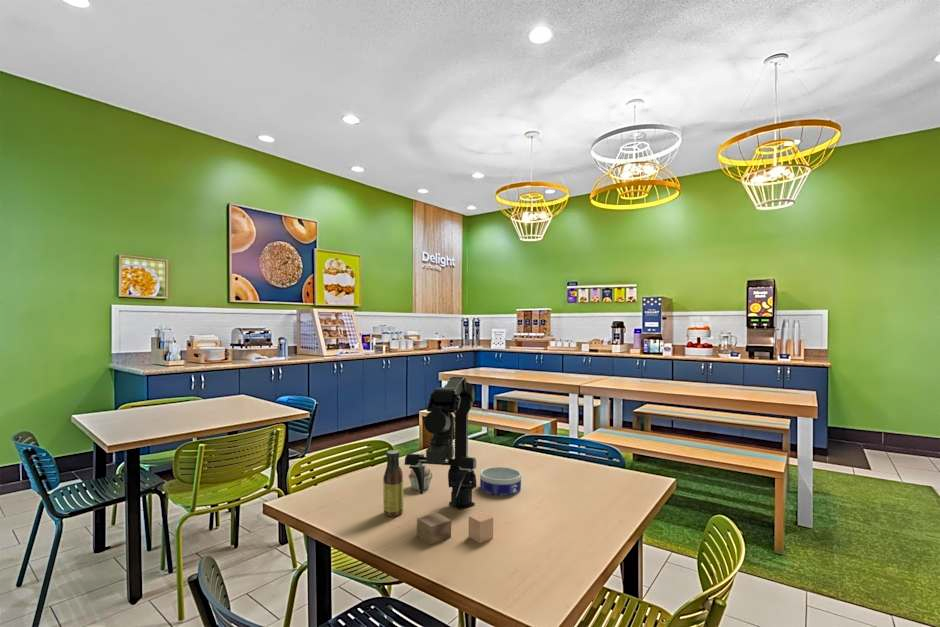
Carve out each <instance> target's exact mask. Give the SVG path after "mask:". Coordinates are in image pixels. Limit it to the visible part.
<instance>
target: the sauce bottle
mask: <svg viewBox="0 0 940 627" xmlns="http://www.w3.org/2000/svg"><path fill="white" fill-rule="evenodd" d="M399 458H400V451H399V450H396V449H393V450H392V449H391V450H387V451H386V461H387V462H386V468H385V471H384V475H383V477H382V478H383V489H382V490H383V493H382V494H383V513H384V515H385V516H387V517H398V516H401V515H402V513H403V512H404V478H403V471H402V468H401V467H400V459H399Z"/></svg>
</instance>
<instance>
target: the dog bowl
mask: <svg viewBox="0 0 940 627" xmlns="http://www.w3.org/2000/svg"><path fill="white" fill-rule="evenodd" d="M479 473H480V474H479V479H480V480H479V481H480V482H479V484H480V491H482V492H483V493H484V492H485V494H487V493H488V495H490V494H491V495H490V496H495V495H496V496H495V497H509V495H510V496H515V495H517V494H519V493H520V491H521V489H522V472H520V470H518V469H516V468H512V467H507V466H492V467H491V466H490V467H486V468H483V469H482V470H481V471H480V472H479ZM514 494H515V495H514Z"/></svg>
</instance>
